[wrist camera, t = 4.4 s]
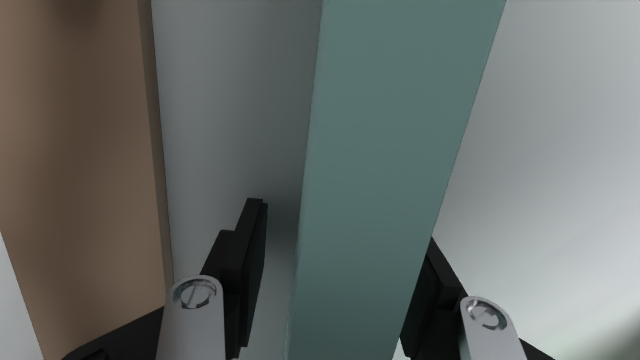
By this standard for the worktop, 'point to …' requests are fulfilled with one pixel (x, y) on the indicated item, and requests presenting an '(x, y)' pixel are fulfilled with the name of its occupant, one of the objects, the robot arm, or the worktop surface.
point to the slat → (379, 164)
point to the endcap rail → (82, 166)
